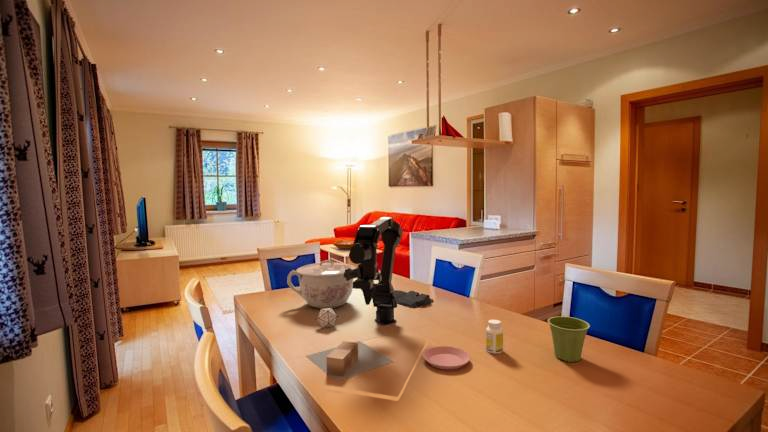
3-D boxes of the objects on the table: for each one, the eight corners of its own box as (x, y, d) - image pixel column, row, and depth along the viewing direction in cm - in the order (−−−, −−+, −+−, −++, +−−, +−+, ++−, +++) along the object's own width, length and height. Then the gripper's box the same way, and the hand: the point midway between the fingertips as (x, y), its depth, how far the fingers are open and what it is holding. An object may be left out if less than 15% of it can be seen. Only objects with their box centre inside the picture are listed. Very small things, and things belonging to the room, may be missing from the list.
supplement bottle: (503, 348, 128) (503, 319, 128) (502, 355, 123) (503, 325, 123) (486, 346, 130) (486, 318, 129) (485, 353, 125) (485, 323, 124)
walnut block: (343, 340, 121) (326, 357, 110) (358, 342, 120) (342, 359, 108) (343, 356, 122) (326, 374, 110) (358, 358, 120) (342, 376, 109)
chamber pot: (368, 301, 183) (368, 257, 181) (330, 318, 160) (329, 268, 158) (323, 293, 198) (322, 253, 196) (283, 307, 175) (281, 262, 173)
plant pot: (538, 353, 124) (539, 319, 123) (565, 347, 129) (566, 314, 128) (569, 369, 113) (570, 332, 113) (597, 361, 118) (598, 325, 117)
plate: (440, 377, 110) (440, 370, 110) (414, 357, 122) (414, 351, 122) (479, 366, 116) (479, 359, 116) (450, 348, 129) (450, 342, 129)
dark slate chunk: (401, 294, 197) (401, 284, 196) (436, 302, 181) (436, 292, 181) (380, 300, 186) (380, 290, 185) (415, 310, 170) (415, 299, 170)
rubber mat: (359, 343, 134) (359, 340, 134) (394, 364, 118) (394, 361, 118) (305, 358, 122) (305, 356, 122) (336, 384, 106) (336, 381, 106)
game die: (330, 338, 148) (332, 323, 141) (310, 329, 149) (312, 314, 143) (340, 320, 154) (343, 305, 148) (321, 312, 156) (323, 296, 149)
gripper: (353, 256, 148) (353, 297, 148) (338, 263, 130) (337, 309, 130) (382, 258, 146) (381, 299, 146) (370, 264, 127) (369, 311, 127)
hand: (367, 304), depth 137 cm, fingers closed
